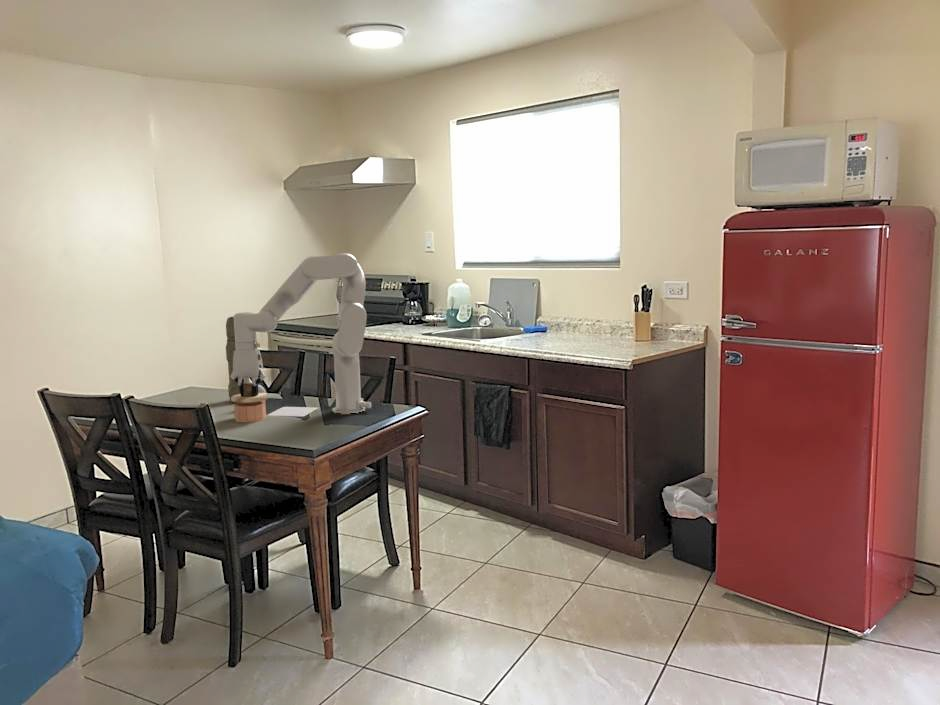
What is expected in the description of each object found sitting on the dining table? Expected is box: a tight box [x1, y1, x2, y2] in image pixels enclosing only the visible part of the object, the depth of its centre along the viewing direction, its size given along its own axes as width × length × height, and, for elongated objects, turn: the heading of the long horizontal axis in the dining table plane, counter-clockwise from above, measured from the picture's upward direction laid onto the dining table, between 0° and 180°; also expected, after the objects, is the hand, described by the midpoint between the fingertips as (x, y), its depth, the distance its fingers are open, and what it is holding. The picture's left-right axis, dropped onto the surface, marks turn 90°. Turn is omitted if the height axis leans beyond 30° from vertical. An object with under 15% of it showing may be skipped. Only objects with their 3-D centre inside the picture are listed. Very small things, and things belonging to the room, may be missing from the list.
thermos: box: [225, 316, 251, 404], centre depth 304 cm, size 9×12×35 cm
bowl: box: [233, 401, 267, 423], centre depth 273 cm, size 11×11×6 cm
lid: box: [231, 382, 269, 403], centre depth 272 cm, size 13×13×6 cm
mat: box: [266, 406, 319, 418], centre depth 284 cm, size 15×15×1 cm
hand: (249, 395), depth 272 cm, fingers closed on lid, 3 cm apart
